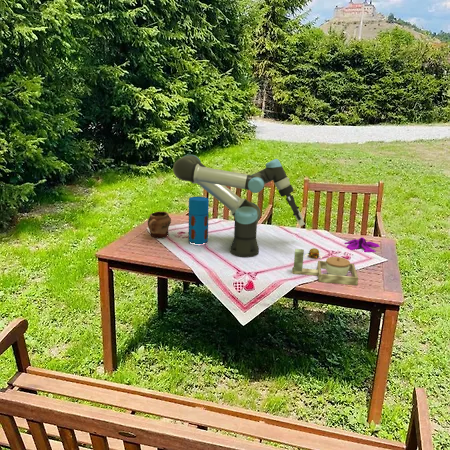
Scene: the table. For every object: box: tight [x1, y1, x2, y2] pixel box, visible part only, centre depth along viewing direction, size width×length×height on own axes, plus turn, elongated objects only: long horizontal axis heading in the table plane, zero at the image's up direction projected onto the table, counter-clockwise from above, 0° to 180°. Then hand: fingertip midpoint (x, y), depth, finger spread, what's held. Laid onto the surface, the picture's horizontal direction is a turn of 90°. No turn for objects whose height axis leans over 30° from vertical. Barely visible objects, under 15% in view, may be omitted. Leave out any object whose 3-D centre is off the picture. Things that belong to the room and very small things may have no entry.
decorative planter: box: [147, 211, 172, 239], centre depth 247 cm, size 20×12×14 cm, turn 164°
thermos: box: [188, 196, 210, 244], centre depth 239 cm, size 11×11×25 cm
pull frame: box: [291, 248, 359, 286], centre depth 203 cm, size 29×17×11 cm, turn 80°
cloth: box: [344, 236, 381, 253], centre depth 244 cm, size 22×19×6 cm
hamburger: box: [304, 247, 323, 261], centre depth 225 cm, size 12×12×6 cm
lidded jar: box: [325, 256, 351, 276], centre depth 202 cm, size 11×11×9 cm
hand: (301, 222), depth 232 cm, fingers open, 13 cm apart
